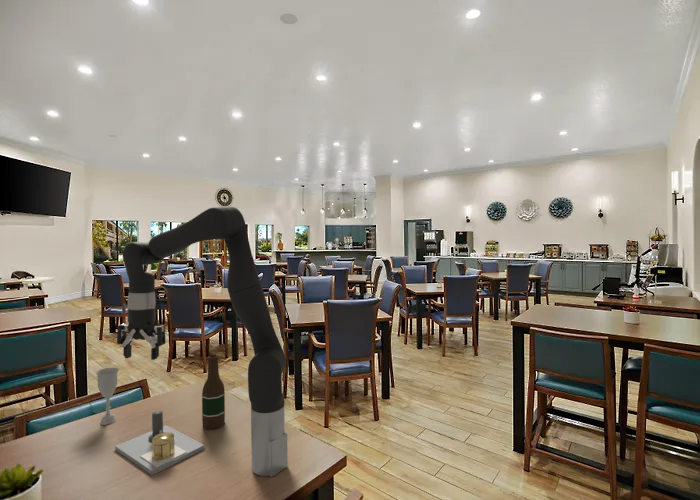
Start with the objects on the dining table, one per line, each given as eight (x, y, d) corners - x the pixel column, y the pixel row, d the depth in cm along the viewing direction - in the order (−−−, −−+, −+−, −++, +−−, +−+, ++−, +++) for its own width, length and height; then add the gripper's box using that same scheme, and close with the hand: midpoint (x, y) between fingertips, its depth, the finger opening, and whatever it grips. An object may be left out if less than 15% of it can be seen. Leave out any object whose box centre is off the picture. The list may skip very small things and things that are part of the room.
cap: (166, 461, 107) (166, 444, 107) (146, 460, 107) (146, 443, 107) (179, 447, 114) (178, 431, 114) (160, 447, 114) (160, 431, 114)
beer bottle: (229, 419, 135) (228, 353, 134) (219, 430, 127) (218, 360, 127) (208, 419, 136) (207, 352, 135) (197, 429, 128) (196, 359, 127)
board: (204, 448, 116) (204, 419, 116) (152, 475, 103) (151, 442, 103) (166, 428, 129) (165, 401, 128) (115, 449, 116) (114, 420, 115)
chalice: (123, 420, 135) (122, 370, 135) (102, 428, 129) (101, 375, 129) (113, 415, 139) (112, 366, 138) (92, 422, 133) (91, 371, 133)
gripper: (111, 307, 114) (110, 361, 114) (156, 309, 113) (156, 363, 113) (127, 303, 121) (127, 353, 122) (170, 305, 120) (169, 355, 121)
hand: (141, 358), depth 117 cm, fingers open, 8 cm apart
